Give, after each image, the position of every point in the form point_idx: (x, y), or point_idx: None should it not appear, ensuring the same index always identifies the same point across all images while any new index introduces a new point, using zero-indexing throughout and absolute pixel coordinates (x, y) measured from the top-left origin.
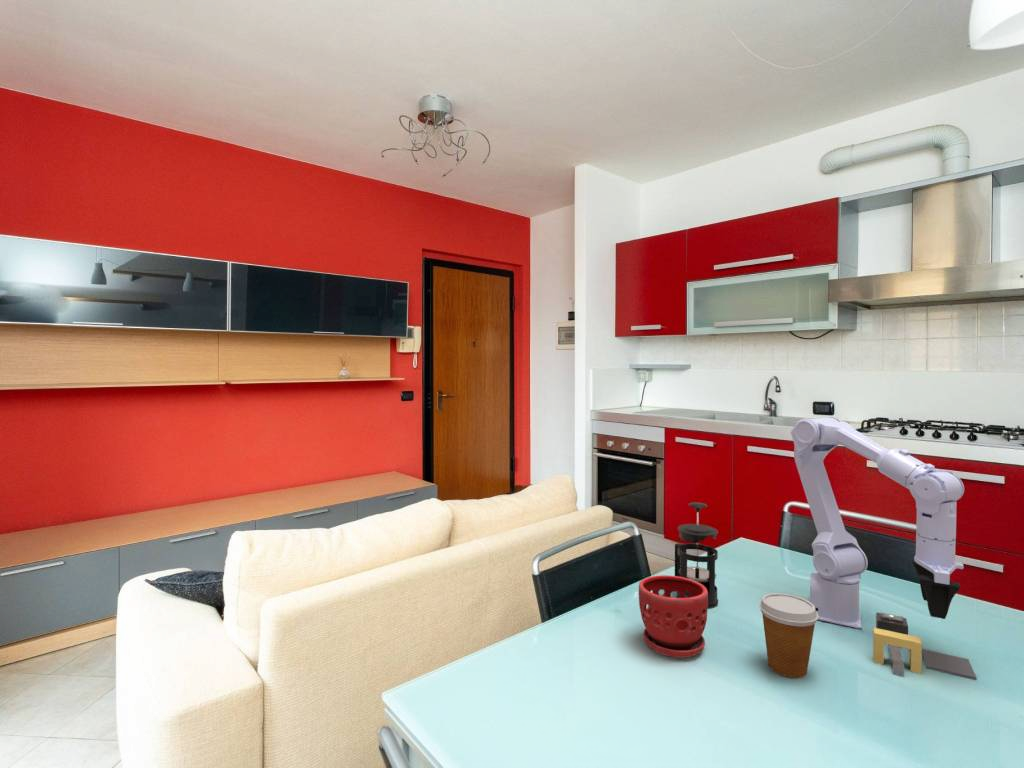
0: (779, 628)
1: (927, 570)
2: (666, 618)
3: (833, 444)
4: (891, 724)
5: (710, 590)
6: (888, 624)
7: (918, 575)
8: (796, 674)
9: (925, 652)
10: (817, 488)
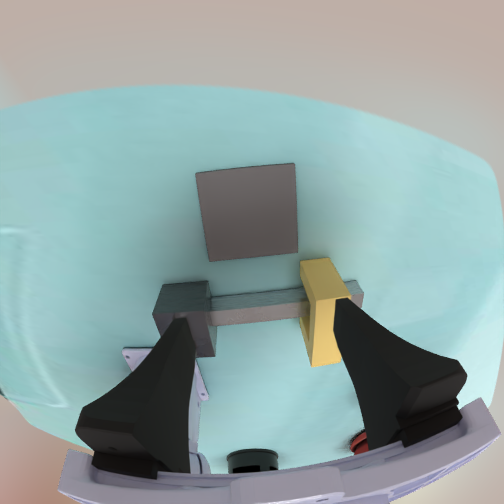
0: None
1: (176, 446)
2: None
3: None
4: (471, 280)
5: (267, 468)
6: (211, 337)
7: (187, 433)
8: None
9: (225, 254)
10: None
